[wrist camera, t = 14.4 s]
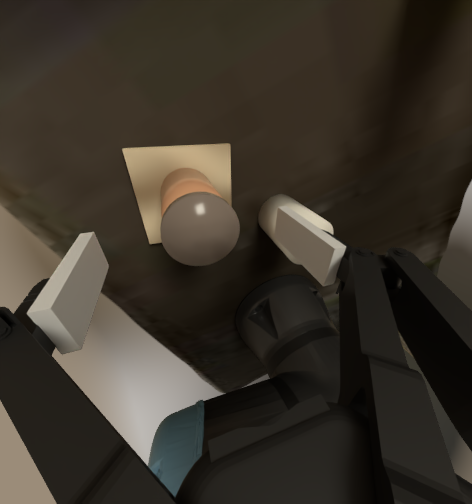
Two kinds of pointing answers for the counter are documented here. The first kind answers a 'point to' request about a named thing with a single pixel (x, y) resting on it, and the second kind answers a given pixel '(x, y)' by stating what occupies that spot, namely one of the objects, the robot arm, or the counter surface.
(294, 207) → the white rounded cylinder
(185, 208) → the jar
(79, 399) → the robot arm
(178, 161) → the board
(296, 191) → the counter surface
